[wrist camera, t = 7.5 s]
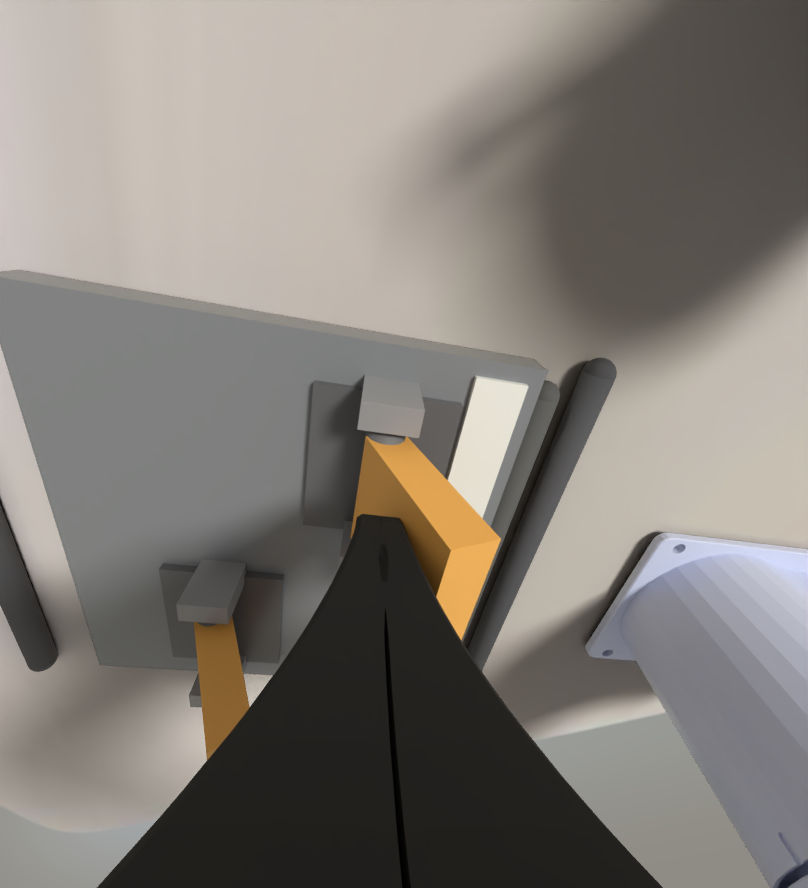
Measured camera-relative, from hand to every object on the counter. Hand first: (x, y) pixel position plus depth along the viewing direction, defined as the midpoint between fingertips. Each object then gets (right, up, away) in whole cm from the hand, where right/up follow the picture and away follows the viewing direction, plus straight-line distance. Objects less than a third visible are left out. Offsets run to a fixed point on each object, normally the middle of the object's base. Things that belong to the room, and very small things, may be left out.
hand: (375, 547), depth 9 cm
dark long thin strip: (+4, -3, +7) cm, 9 cm away
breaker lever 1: (-7, -5, +5) cm, 10 cm away
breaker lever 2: (0, +1, +2) cm, 2 cm away
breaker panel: (-4, -1, +6) cm, 7 cm away
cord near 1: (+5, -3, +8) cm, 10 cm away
